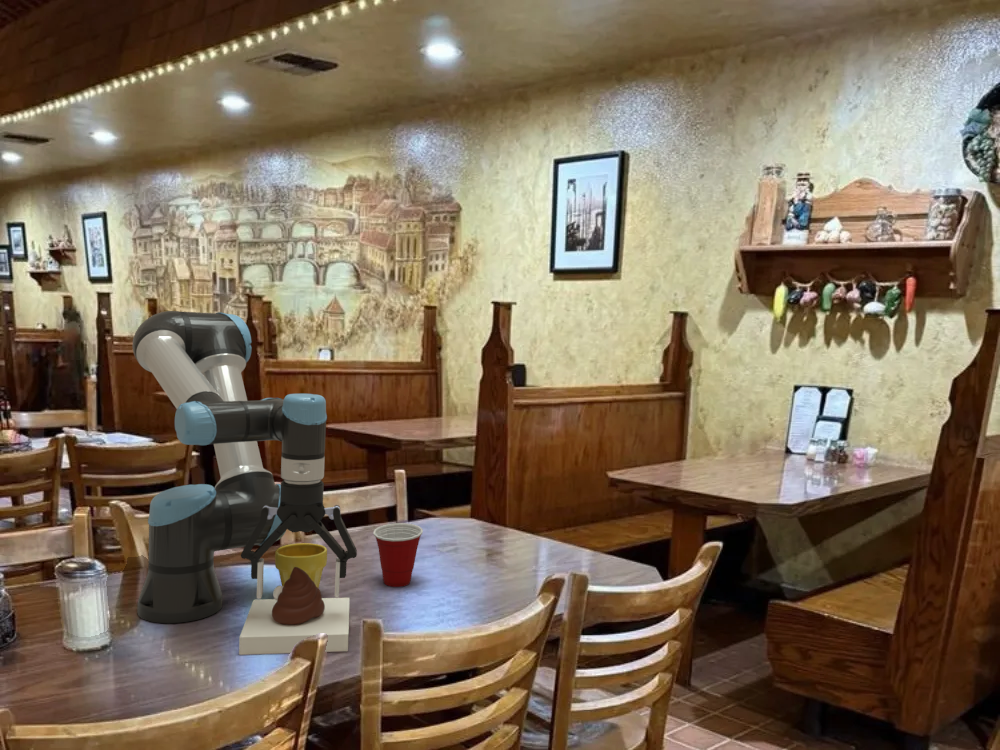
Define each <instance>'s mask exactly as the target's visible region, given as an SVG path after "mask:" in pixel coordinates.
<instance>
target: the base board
mask: <svg viewBox="0 0 1000 750" xmlns="http://www.w3.org/2000/svg"><path fill="white" fill-rule="evenodd" d="M350 599H351V598H350V597H324V598H323V597H322V600H323V602H324V605H325V609H324V612H323V614H322V615H321V616H319V617H316V618H311V619H310V620H308V621H306V622H304V623H301V624H297V625H285V624H281V623H278V622H276V621H275V620H274V619H273V617H272V609H273V606H274V605H275V603H276V602H277V600H275V599H274V598H270V599H268V598H267V599H266V598H265V599H262V598H261V599H253V601H252V603H251V605H250V608H249V611H248V614H247V615H246V619H245V622H244V625H243V627H242V628H241V629H242V630H241V631H240V635H239V638H238V639H239V641H238V643H239V646H238V647H239V648H238V655H239V656H243V655H246V656H247V655H268V654H270V655H272V654H273V655H274V654H276V655H277V654H292V653H291V652H292V649H293V647H294V645H295V644H296V643H297V642H299V641H301V640H303V639H305V638H307V637H310V636H313V635H316V634H318V633H326V634H327V635H328V642H327V646H326V650H325V652H324V653H329V652H330V653H335V652H348V651H349V630H350V629H349V626H350V624H349V623H350Z"/></svg>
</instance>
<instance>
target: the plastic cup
mask: <svg viewBox="0 0 1000 750" xmlns="http://www.w3.org/2000/svg"><path fill="white" fill-rule="evenodd" d="M423 530H424V529H423V528H422V527H421V526H419V525H416V524H413V523H405V522H400V523H399V522H397V523H389V524H384V525H380V526H378V527H376V528H375V529H373V533H372V534H373V536H374V537H375V540H376V543H377V547H378V555H379V561H380V562H379V563H380V569H381V571H382V572H381V573H382V581H383V583H384V585H385V586H388V587H393V588H399V587H406V586H408V585H410V583H411V579H412V575H413V570H414V567H415V562H416V557H417V552H418V551H417V550H418V547H419V542H420V540H421V539H420V538H421V537H422V535H423V532H424V531H423Z"/></svg>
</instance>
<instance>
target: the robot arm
mask: <svg viewBox="0 0 1000 750" xmlns="http://www.w3.org/2000/svg"><path fill="white" fill-rule="evenodd" d="M251 344H252V336H251V332H250V329H249V326H248V325H247V324H246V322H245V321H244V319H243V318H242V317H240V316H238V315H236V314H234V313H224V312H219V311H218V312H200V311H199V312H197V311H196V312H195V311H180V310H167V311H161V312H157V313H156V314H153V315H151V316H149V317H148V318H147V319H145V320H144V321H143V322H142V323H140V325H139V326H138V327H137V329H136V331H135V333H134V335H133V339H132V345H131V346H132V351H133V355H134V358H135V359H136V361H137V362H138V364H139V365H140V367H142V368H143V369H144V370H145V371H148V372H150V373H152V375H153V377H154V378H155V379H156V381H157V382H158V384H159V386H160V387H161V389H162V390H163V391H164V392H165V394H166V396H167V397H168V399H169V400H170V401H171V403H172V404H173V406H174V407H175V409H176V411H175V416H174V430H175V432H176V437H177V439H178V441H179V442H180V443H181V444H183V445H187V446H188V445H189V446H194V445H195V446H207V445H213V447H214V452H215V457H216V461H217V462H216V463H217V466H218V467H217V468H218V471H219V476H220V479H219V481H217V483H216V484H215V486H213V485H211V484H207V483H206V484H205V483H198V484H186V485H180V486H175V487H171V488H168V489H165V490H162V491H161V492H159V493H157V494H156V495H155V496H154V497H152V499H151V501H150V503H149V513H148V514H149V515H148V519H147V524H148V568H147V569H148V570H147V574H146V578H145V581H144V583H143V586H142V589H141V592H140V594H139V597H138V600H137V616H138V617H139V618H141V619H142V620H145V621H146V622H147V621H148V622H152V623H159V624H160V623H161V624H177V623H187V622H193V621H194V622H195V621H197V620H201V619H205V618H207V617H210V616H212V615H214V614H216V613H218V612H219V611H220V610H221V609H222V607H223V592H222V588H221V587H220V583H219V580H218V577H217V574H216V571H215V567H214V564H215V563H214V559H215V558H214V556H215V553H216V552H217V551H218V552H219V551H226V550H231V549H233V550H234V549H240V548H243V550H242V551H241V554H240V558H241V559H242V560H245V559H246V560H249V561H250V567H251V568H250V577H251V579H252V580H256V600H260V599H262V597H263V594H264V568H265V563H264V562H265V557H264V558H263V556H264V555H265V553H266V552H267V551H269V549H270V548H271V547H272V546H273V544H274V543H276V542H277V541H279V540H280V539H282V538H283V537H284V535H285V533H287V531H290V532H291V533H299V532H303V533H310V532H311V531H314V532H315V533H316V534H317V535H318V536H319V537H320V538H321V540H323V542H324V543H325V544H326V545H327V546H328V547H329V549H330V550H331V552H333V553H334V554H335V556H336V558H335V575H334V598H340V579H345V578H346V576H347V562H348V560H350V559H355V558H357V555H358V551H357V550H358V549H357V547H356V545H355V543H354V541H353V539H352V538H351V537H352V536H351V534H350V533H349V531H348V529H347V527H346V525H345V522H344V520H343V519H342V513H341V507H340V505H339V504H335V505H334V506H333V507H332V506H331V507H325V506H324V488H325V487H324V486H325V485H324V481H323V478H324V477H325V458H326V457H325V452H326V451H325V449H326V433H327V432H326V431H327V420H328V415H327V402H326V398H325V397H324V396H322V395H320V394H315V393H289V394H287V395H285V397H284V398H279V397H266V398H263V399H260V400H248V397H247V393H246V389H245V385H244V381H243V375H242V372H243V371H244V370H245V368H246V366H247V363H248V362H249V360H250V358H251V355H252V345H251ZM263 441H265V442H266V441H279V442H281V461H280V462H281V465H280V467H281V468H280V478H281V479H282V481H281V482H280V483H275V479H274V475H273V473H272V472H271V471H269V470H268V469H266V468H264V466H263V462H262V461H263V460H262V458H261V453H260V448H259V446H258V445H259V444H258V442H263ZM325 515H327V516H328V518H329V519H330V520H333V522H334V525H335V527H336V530H337V531H338V534H339V535H340V538H341V540H342V542H343V544H344V546H345V548H346V550H345V549H344V548H343V547H342V546H341V544H340V543H339V542H338V540H336V539H335V537H334V536H333V535H332V534H331V533H330V531H328V529H327V528H326V526H325V525H324V523H323V522H322V520H323V518H324V517H325ZM254 546H259V547H258V548H257V549H256V550H255V551H253V550H252V549H253V548H254Z"/></svg>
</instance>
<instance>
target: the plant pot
mask: <svg viewBox="0 0 1000 750" xmlns="http://www.w3.org/2000/svg"><path fill="white" fill-rule="evenodd" d="M274 553H275V554H274V555H275V556H274V563H275V564H274V565H275V568H276V570H278V573H279V577H280V583H281V586H284V584H285V582H286V581H287V580H288V579H289V578H290V575H291V572H292V570H293V568H294V567H298V568H300V569H302V570H303V571H305V572H306V573H307V574H308V575H309V577H310V578H311V580H312V581H313V582H314V583H315V585H316V587H317V588H318V589H319V588H320V584H321V583H320V582H321V580H322V575H323V571H324V568H325V567H326V566H327V562H328V548H327V547H326V546H325V545H322V544H318V543H308V542H304V543H303V542H302V543H300V542H299V543H289V544H286V545H285V544H284V545H282V546H280V547H278V548H277V549H275V552H274ZM319 590H320V589H319Z"/></svg>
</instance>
